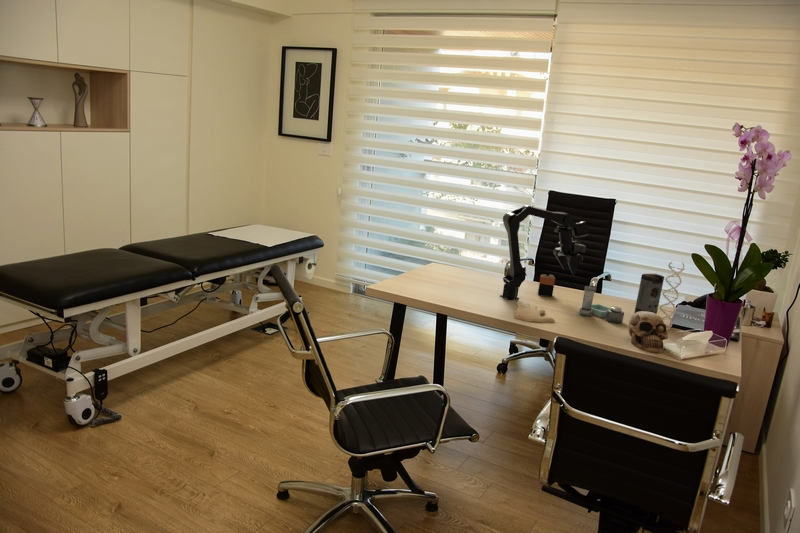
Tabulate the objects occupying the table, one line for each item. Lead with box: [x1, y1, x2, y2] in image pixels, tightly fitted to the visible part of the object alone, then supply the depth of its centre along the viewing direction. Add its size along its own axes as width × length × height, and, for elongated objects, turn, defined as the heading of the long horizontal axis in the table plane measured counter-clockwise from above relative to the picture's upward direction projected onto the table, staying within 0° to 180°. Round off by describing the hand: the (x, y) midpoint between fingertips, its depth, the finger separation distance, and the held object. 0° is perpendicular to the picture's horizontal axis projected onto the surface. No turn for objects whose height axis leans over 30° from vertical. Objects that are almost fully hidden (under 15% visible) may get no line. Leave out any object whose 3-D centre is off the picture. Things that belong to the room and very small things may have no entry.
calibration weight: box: [604, 305, 625, 325], centre depth 262 cm, size 7×7×6 cm
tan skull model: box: [628, 311, 669, 354], centre depth 236 cm, size 16×17×13 cm
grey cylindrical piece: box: [578, 285, 596, 318], centre depth 267 cm, size 5×5×12 cm
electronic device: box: [633, 273, 665, 315], centre depth 270 cm, size 9×6×20 cm, turn 117°
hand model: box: [514, 301, 556, 324], centre depth 258 cm, size 19×5×20 cm
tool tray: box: [591, 303, 611, 318], centre depth 273 cm, size 10×10×3 cm
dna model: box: [659, 261, 685, 331], centre depth 250 cm, size 7×6×30 cm
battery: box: [537, 273, 556, 298], centre depth 295 cm, size 4×7×10 cm, turn 75°
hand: (569, 272), depth 286 cm, fingers open, 9 cm apart
